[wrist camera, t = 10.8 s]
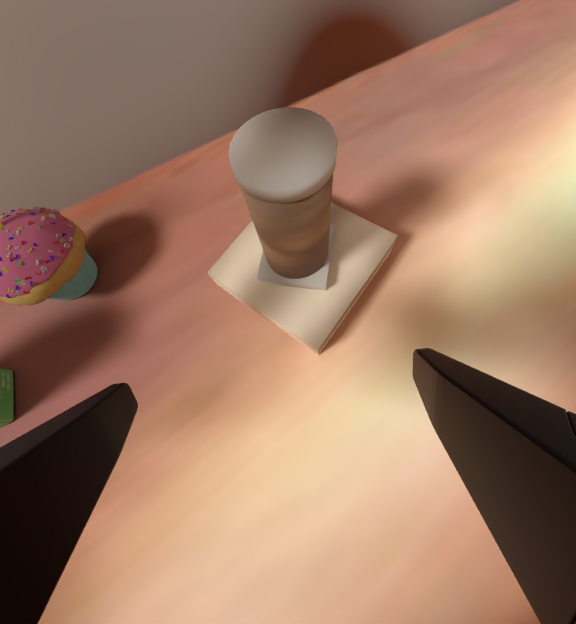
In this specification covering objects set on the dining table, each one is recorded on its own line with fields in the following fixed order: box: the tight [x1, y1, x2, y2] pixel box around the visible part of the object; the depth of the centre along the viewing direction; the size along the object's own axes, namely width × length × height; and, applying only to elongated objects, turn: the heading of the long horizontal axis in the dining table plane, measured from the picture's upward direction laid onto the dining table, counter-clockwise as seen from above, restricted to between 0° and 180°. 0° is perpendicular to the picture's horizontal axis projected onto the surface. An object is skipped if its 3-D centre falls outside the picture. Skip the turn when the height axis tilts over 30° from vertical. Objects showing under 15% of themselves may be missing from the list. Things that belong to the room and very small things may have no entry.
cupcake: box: [0, 207, 98, 306], centre depth 22 cm, size 9×8×12 cm
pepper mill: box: [229, 107, 337, 291], centre depth 17 cm, size 5×5×10 cm
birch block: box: [207, 203, 398, 355], centre depth 24 cm, size 11×11×3 cm
